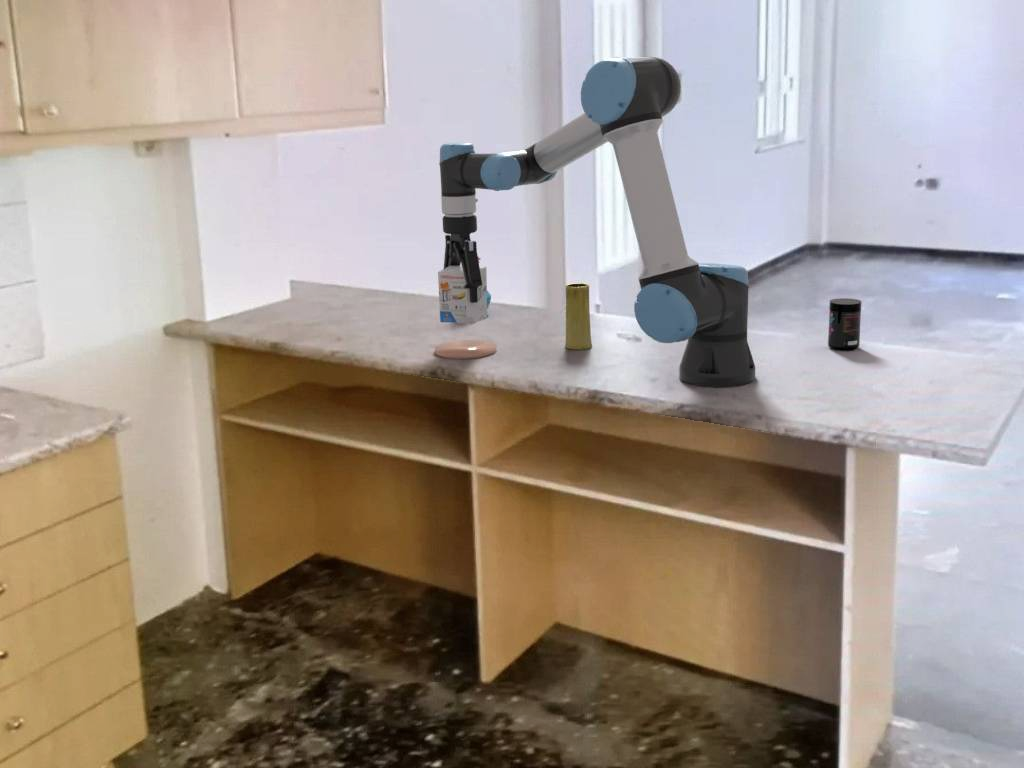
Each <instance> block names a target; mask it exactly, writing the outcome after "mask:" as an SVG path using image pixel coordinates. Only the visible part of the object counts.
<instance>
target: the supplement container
mask: <svg viewBox="0 0 1024 768" xmlns="http://www.w3.org/2000/svg"><path fill="white" fill-rule="evenodd" d="M862 302H863V301H862V300H860V299H856V298H833V299H830V300H829V307H828V312H829V315H828V334H827V335H828V336H827V337H828V338H827V345H828V347H829V349H830V350H834V351H839V352H840V351H841V352H850V351H851V352H852V351H856V350H858V348H859V347H860V341H861V340H860V339H861V321H862V320H861V319H862V316H861V315H862V305H863V304H862Z"/></svg>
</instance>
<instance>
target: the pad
mask: <svg viewBox="0 0 1024 768" xmlns="http://www.w3.org/2000/svg"><path fill="white" fill-rule="evenodd" d="M497 351H498V350H497V345H496V343H494V342H491V341H488V340H481V339H478V340H477V339H464V340H463V339H461V340H460V339H459V340H453V341H448V342H442V343H440V344H438V345H436V346H435V347H434V354H435V355H436V356H437V357H440V358H444V359H451V360H452V359H454V360H468V359H479V358H483V357H488V356H491V355H493V354H495V353H497Z"/></svg>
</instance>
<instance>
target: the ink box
mask: <svg viewBox="0 0 1024 768" xmlns="http://www.w3.org/2000/svg"><path fill="white" fill-rule="evenodd" d="M479 268H480V274H481V280H482V286H479V287H478V296H479V316H478V317H469V318H468V317H467V314H466V291H465V288H464V286H465V285H467V284H466V280H465V276H464V272H463V268H462V264H460V265H457V266H449V267H447V268H445V269H444V268H443V269H441V270H439V271H437V275H438V276H437V278H438V279H437V281H438V301H439V302H438V303H439V318H440V319H439V321H440V323H452V324H453V323H454V324H476V323H477V322H480V321H481V320H483V319H485V318H486V317H488V309H487V291H488V288H487V287H488V285H487V283H488V282H487V279H488V278H487V276H488V275H487V266H482V265H479Z"/></svg>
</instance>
